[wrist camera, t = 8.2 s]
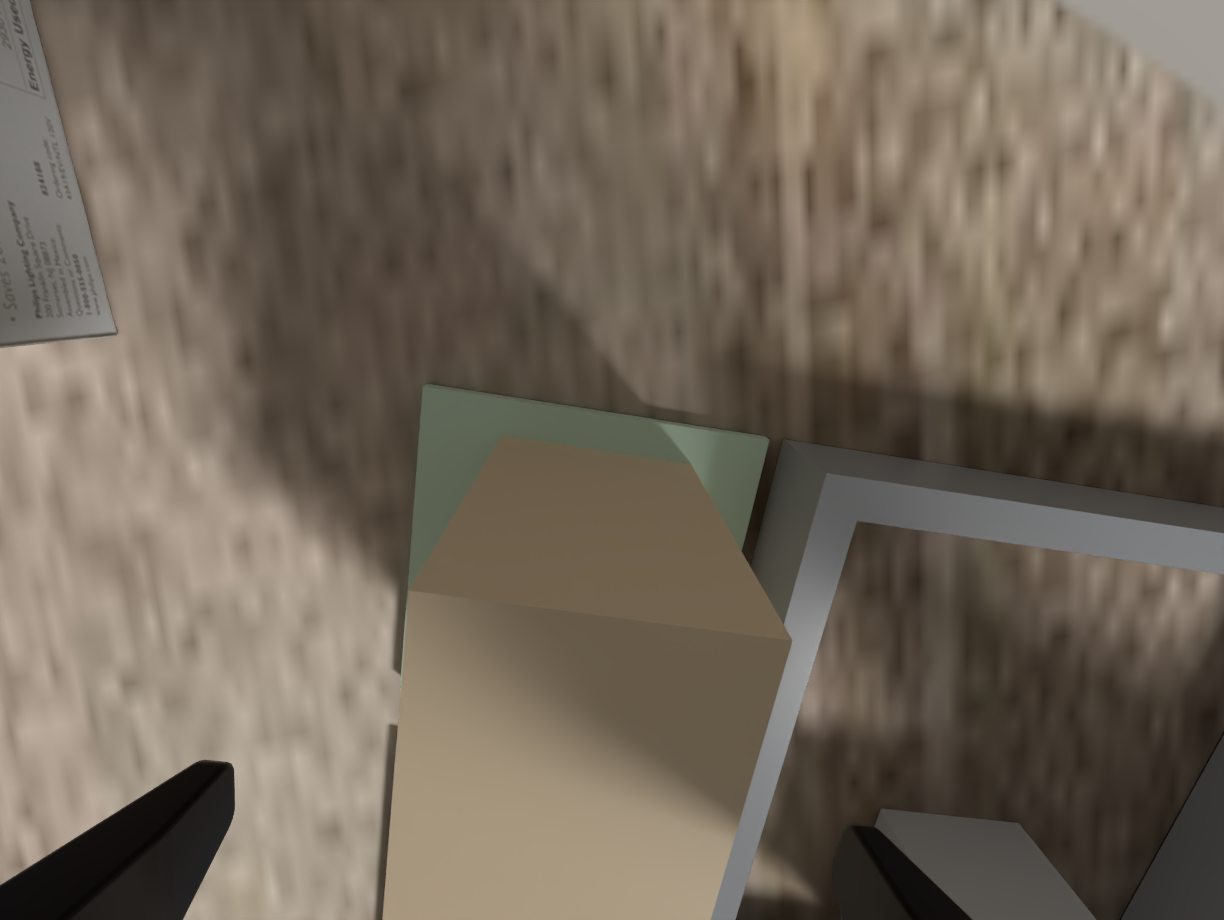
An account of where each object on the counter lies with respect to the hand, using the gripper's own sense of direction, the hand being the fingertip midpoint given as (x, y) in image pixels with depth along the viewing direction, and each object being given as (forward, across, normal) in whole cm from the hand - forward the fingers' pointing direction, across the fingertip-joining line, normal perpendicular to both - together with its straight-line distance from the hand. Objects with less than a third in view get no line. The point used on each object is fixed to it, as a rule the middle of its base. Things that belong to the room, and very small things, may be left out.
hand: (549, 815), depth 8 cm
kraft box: (+8, 0, 0) cm, 8 cm away
